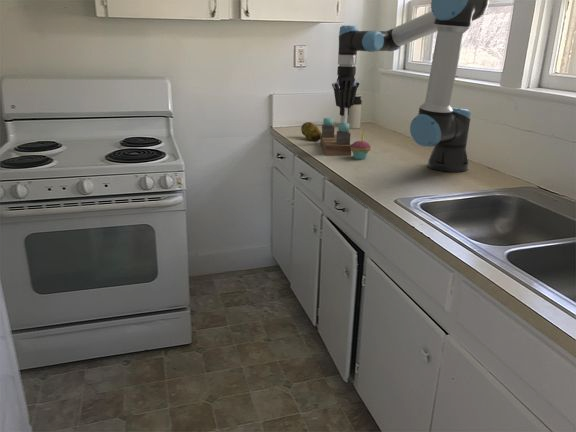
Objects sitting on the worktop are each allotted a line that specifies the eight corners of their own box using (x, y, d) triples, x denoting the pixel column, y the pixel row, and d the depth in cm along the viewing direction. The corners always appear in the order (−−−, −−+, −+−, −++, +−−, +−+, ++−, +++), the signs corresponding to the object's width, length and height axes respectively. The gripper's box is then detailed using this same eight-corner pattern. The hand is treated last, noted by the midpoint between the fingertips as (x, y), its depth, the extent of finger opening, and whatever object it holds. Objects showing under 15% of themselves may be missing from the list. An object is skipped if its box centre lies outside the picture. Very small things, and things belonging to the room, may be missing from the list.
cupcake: (354, 154, 207) (356, 127, 203) (373, 157, 203) (375, 128, 199) (346, 158, 200) (347, 130, 196) (365, 161, 196) (367, 132, 192)
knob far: (333, 136, 222) (334, 119, 219) (323, 136, 222) (324, 119, 219) (332, 134, 226) (332, 117, 223) (322, 134, 226) (323, 117, 223)
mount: (351, 155, 206) (352, 134, 203) (325, 155, 206) (326, 134, 202) (343, 142, 230) (343, 123, 227) (320, 142, 230) (320, 123, 227)
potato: (306, 142, 231) (307, 125, 228) (299, 137, 242) (299, 121, 239) (323, 141, 233) (323, 125, 230) (315, 136, 244) (315, 120, 241)
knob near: (349, 142, 207) (350, 124, 204) (338, 142, 207) (339, 124, 204) (347, 140, 211) (348, 122, 208) (337, 140, 211) (338, 122, 208)
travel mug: (361, 128, 266) (363, 95, 260) (347, 129, 265) (349, 95, 258) (357, 126, 273) (359, 94, 267) (344, 126, 272) (345, 94, 266)
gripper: (353, 64, 204) (350, 120, 212) (328, 65, 198) (326, 122, 206) (364, 65, 198) (361, 123, 206) (339, 66, 192) (336, 125, 200)
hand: (343, 123), depth 206 cm, fingers closed
